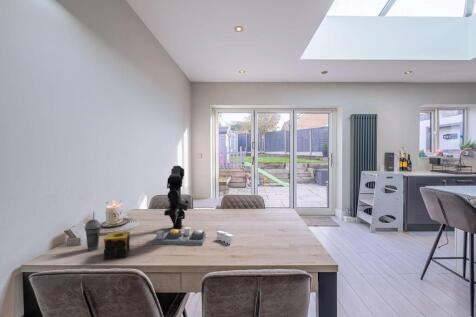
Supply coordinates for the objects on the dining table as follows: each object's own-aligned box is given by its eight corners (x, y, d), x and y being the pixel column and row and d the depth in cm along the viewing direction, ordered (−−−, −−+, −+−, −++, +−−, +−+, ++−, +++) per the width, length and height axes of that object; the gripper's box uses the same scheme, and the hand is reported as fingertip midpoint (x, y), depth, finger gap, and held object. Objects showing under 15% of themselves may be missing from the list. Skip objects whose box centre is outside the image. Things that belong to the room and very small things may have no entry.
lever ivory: (185, 233, 148) (185, 227, 148) (190, 233, 148) (190, 227, 148) (184, 235, 145) (184, 228, 145) (189, 235, 145) (189, 228, 145)
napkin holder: (213, 239, 147) (213, 229, 147) (231, 237, 150) (231, 228, 150) (217, 248, 132) (217, 238, 132) (237, 247, 135) (237, 236, 135)
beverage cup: (97, 245, 133) (97, 209, 133) (103, 249, 129) (103, 211, 128) (82, 249, 128) (82, 211, 127) (88, 253, 123) (87, 213, 123)
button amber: (171, 232, 145) (171, 229, 145) (179, 232, 145) (179, 229, 145) (168, 235, 140) (168, 231, 140) (177, 235, 140) (177, 231, 140)
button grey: (194, 232, 145) (194, 229, 145) (203, 233, 145) (203, 229, 145) (192, 235, 140) (192, 232, 140) (201, 235, 140) (201, 232, 140)
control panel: (160, 236, 150) (160, 228, 150) (205, 237, 149) (205, 229, 149) (152, 244, 137) (152, 236, 137) (202, 245, 136) (202, 237, 136)
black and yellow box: (103, 260, 116) (103, 239, 116) (108, 251, 125) (108, 232, 125) (126, 258, 118) (126, 237, 118) (129, 250, 128) (129, 231, 128)
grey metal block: (158, 237, 141) (158, 230, 140) (163, 237, 141) (163, 230, 140) (156, 239, 138) (156, 232, 137) (161, 239, 138) (161, 232, 137)
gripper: (184, 200, 133) (184, 229, 133) (191, 194, 151) (191, 219, 152) (164, 200, 133) (163, 228, 134) (173, 194, 152) (173, 219, 152)
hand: (174, 223), depth 143 cm, fingers closed
